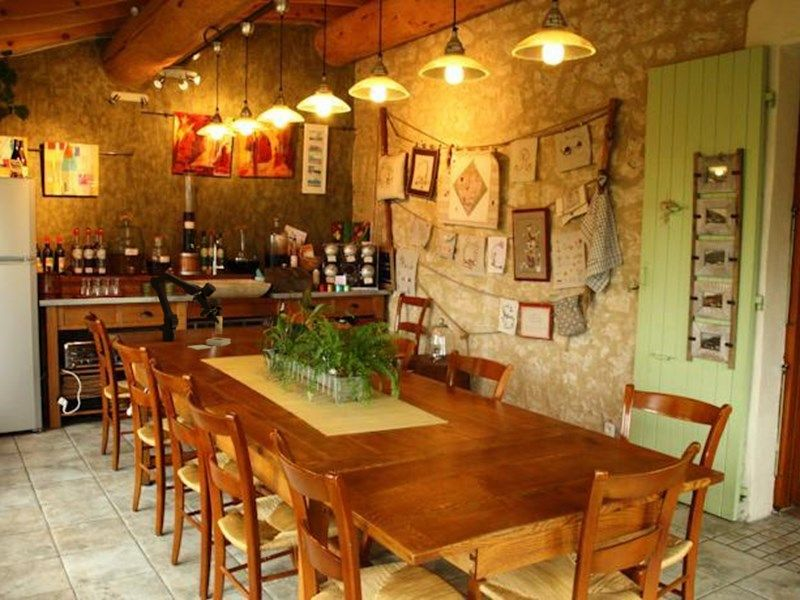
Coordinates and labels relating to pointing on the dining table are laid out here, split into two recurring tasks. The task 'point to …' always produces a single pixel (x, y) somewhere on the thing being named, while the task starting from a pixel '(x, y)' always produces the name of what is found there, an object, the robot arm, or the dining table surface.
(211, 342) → the collar
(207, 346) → the pad
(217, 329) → the post
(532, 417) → the dining table surface
